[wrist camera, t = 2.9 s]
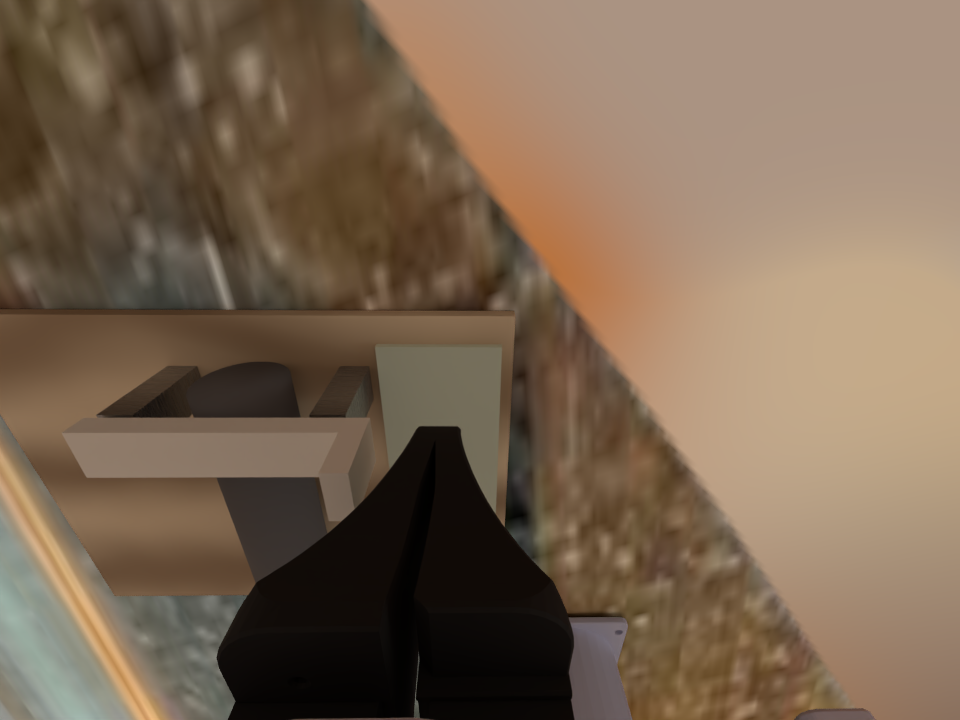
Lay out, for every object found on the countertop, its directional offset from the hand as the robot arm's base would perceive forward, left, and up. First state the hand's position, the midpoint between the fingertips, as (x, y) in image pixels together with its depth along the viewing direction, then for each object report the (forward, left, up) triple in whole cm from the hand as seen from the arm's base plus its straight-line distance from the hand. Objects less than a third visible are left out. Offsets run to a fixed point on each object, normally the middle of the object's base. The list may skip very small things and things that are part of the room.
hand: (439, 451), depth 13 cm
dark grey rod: (-6, +7, -4) cm, 10 cm away
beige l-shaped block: (0, +7, -1) cm, 7 cm away
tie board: (-6, +8, -5) cm, 11 cm away
